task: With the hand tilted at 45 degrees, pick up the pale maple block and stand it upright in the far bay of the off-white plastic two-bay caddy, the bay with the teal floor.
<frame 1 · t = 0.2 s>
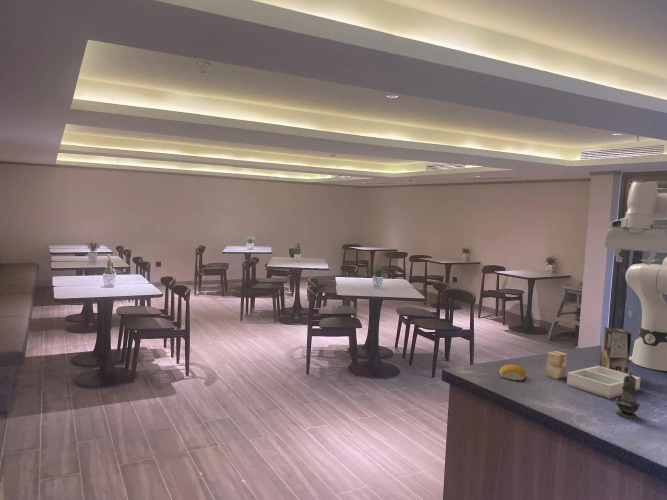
hand: (632, 263, 172), 40 cm above the counter, tool pointing down, fingers open, 8 cm apart
bread roll: (512, 377, 164), on the counter
dark grey upright piece: (626, 415, 135), on the counter
caddy: (602, 387, 158), on the counter
maple block: (555, 376, 167), on the counter
coffee box: (612, 375, 173), on the counter
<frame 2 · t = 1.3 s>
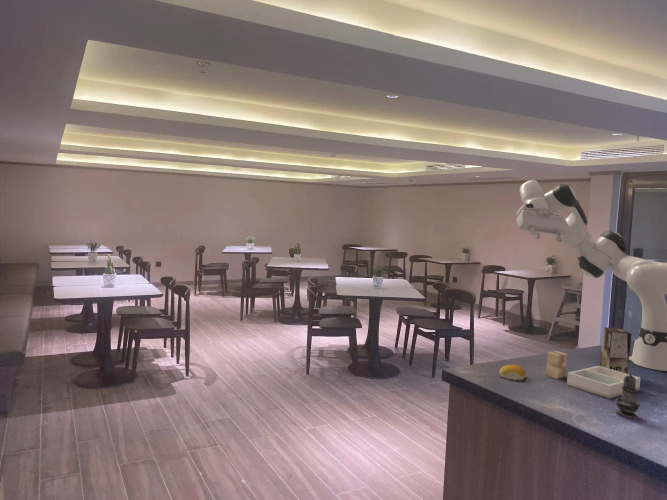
hand: (548, 239, 184), 46 cm above the counter, tool tilted 45°, fingers open, 8 cm apart
nothing on the counter moved.
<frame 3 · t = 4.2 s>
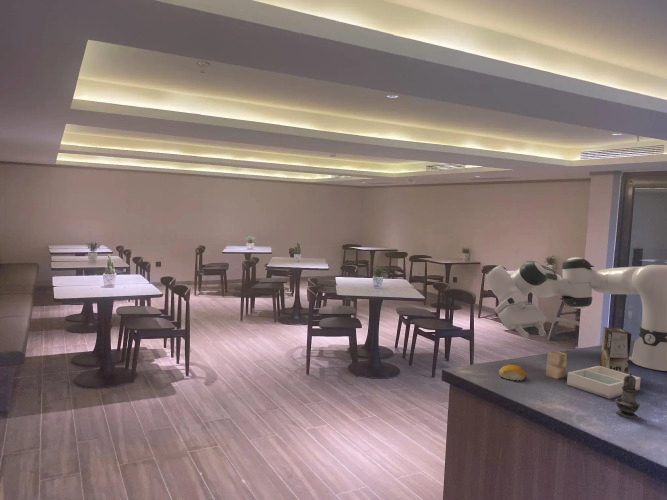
hand: (535, 336, 173), 12 cm above the counter, tool tilted 45°, fingers open, 8 cm apart
nothing on the counter moved.
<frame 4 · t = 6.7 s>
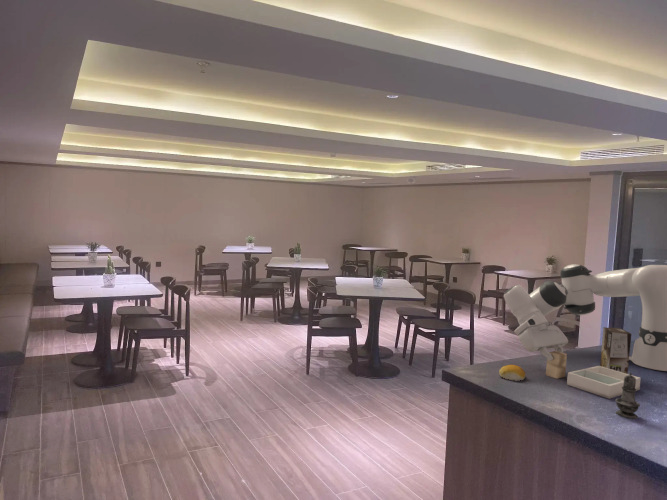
hand: (557, 359, 167), 6 cm above the counter, tool tilted 45°, fingers closed on maple block, 5 cm apart
maple block: (555, 375, 167), on the counter, touching gripper
everything else where it was.
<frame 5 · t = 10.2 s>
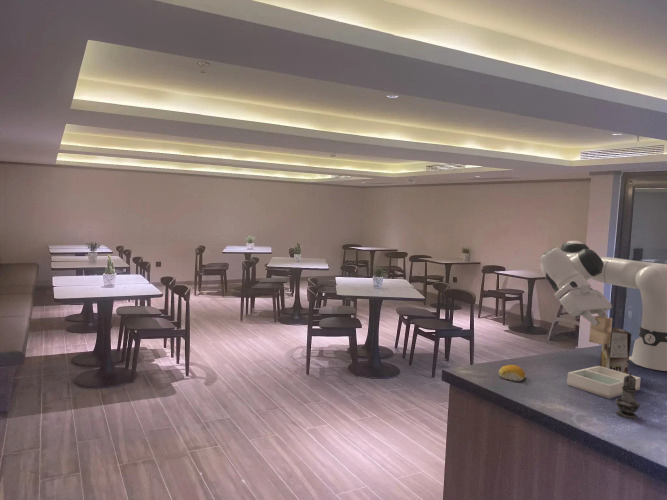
hand: (602, 324, 154), 21 cm above the counter, tool tilted 45°, fingers closed on maple block, 5 cm apart
maple block: (599, 342, 155), point 15 cm above the counter, touching gripper
everything else where it was.
when the fingers open (8 cm above the counter, at t = 13.6 s): maple block drops 1 cm, resting on caddy.
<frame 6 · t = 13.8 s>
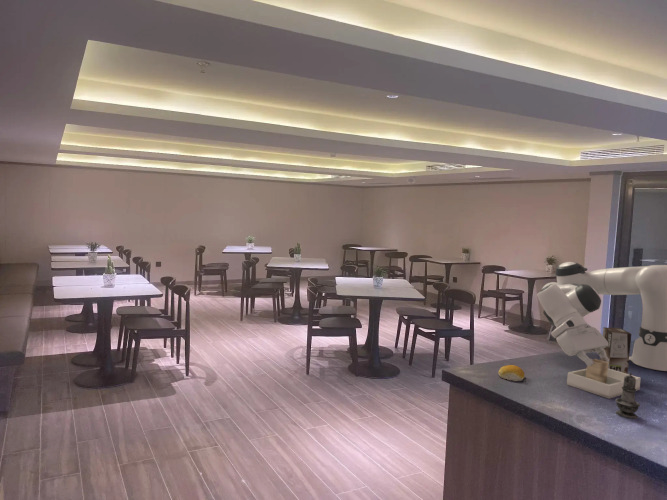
hand: (598, 363, 155), 8 cm above the counter, tool tilted 45°, fingers open, 7 cm apart
maple block: (595, 386, 156), point 1 cm above the counter, touching caddy
everything else where it was.
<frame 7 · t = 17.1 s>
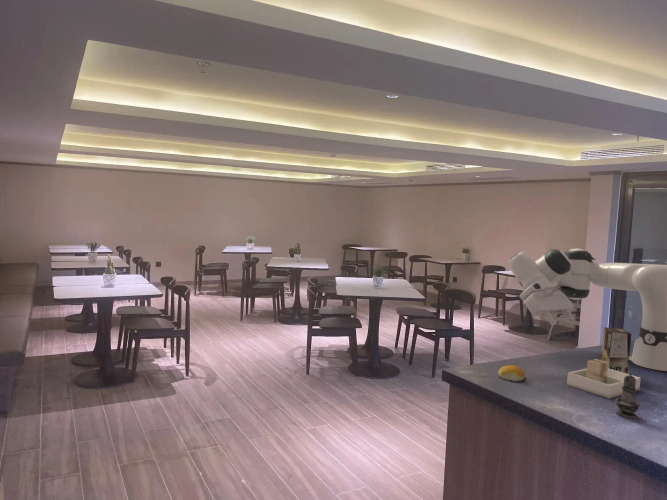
hand: (563, 323, 165), 19 cm above the counter, tool tilted 45°, fingers open, 8 cm apart
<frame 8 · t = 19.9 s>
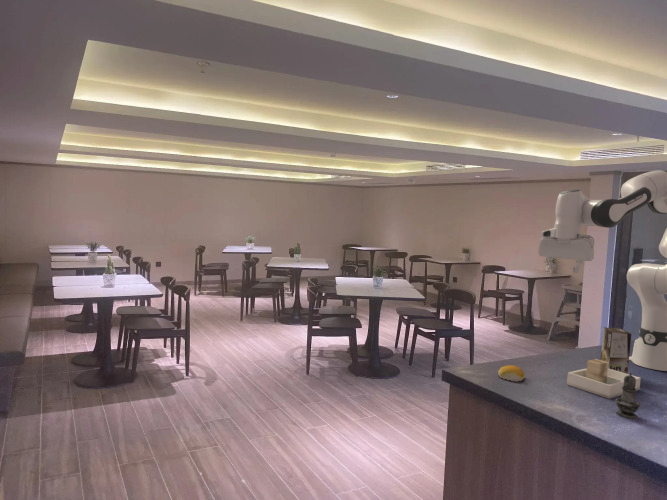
hand: (563, 270, 180), 35 cm above the counter, tool pointing down, fingers open, 8 cm apart
at the end: maple block inside the target area (0.1 cm from its centre), point 1.0 cm above the counter; maple block tilted 0°; the gripper is holding nothing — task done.
